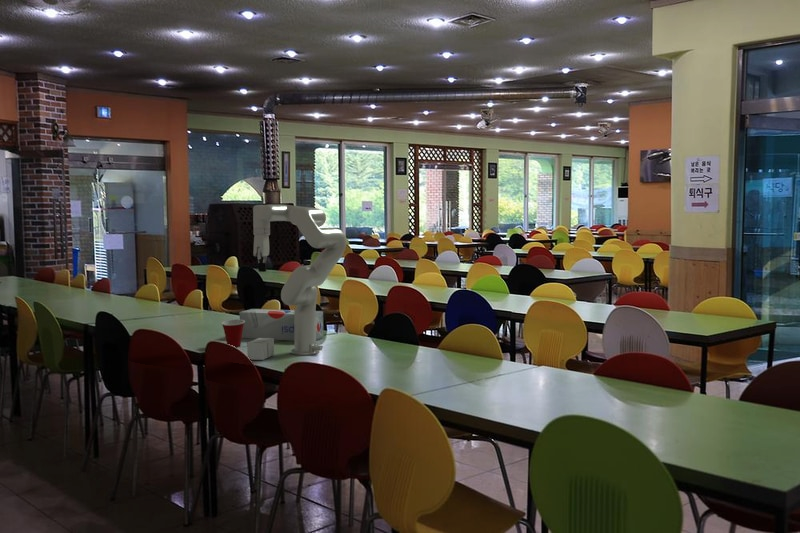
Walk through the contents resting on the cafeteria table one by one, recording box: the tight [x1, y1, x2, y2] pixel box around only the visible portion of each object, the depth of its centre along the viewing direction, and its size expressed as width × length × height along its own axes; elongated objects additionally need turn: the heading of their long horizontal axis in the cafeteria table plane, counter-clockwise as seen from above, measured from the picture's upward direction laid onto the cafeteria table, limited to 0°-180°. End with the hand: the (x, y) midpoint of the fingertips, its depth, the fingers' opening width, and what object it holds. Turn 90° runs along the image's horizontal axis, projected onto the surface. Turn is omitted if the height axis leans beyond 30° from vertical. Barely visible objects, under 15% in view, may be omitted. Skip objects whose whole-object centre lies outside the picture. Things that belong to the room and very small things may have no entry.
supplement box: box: [246, 338, 275, 361], centre depth 327 cm, size 7×7×13 cm
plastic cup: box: [220, 319, 245, 348], centre depth 353 cm, size 11×11×12 cm
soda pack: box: [239, 308, 324, 342], centre depth 376 cm, size 41×13×14 cm, turn 71°
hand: (262, 271), depth 351 cm, fingers closed
